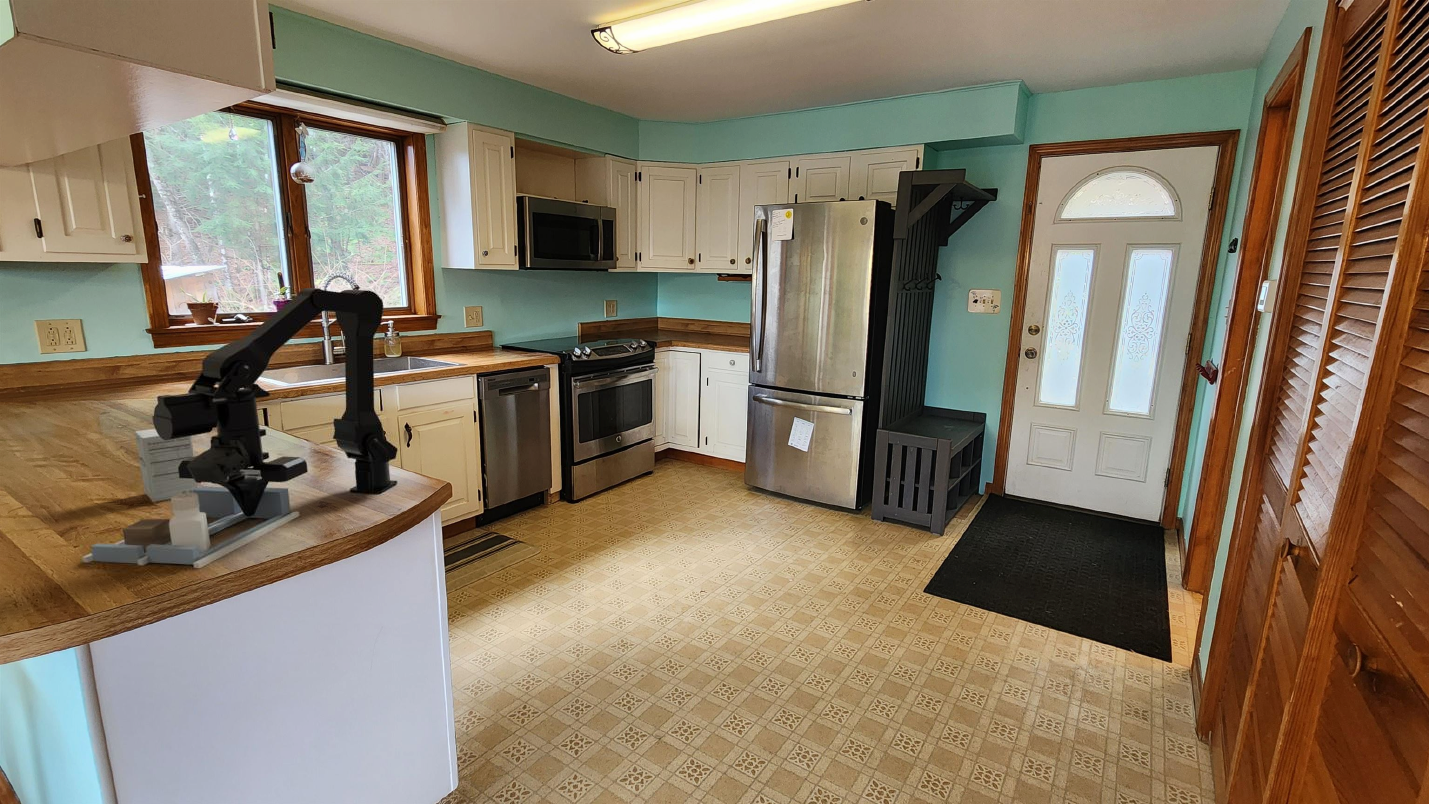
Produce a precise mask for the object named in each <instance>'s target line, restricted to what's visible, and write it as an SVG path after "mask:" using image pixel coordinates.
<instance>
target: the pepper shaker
mask: <svg viewBox="0 0 1429 804" xmlns="http://www.w3.org/2000/svg"><path fill="white" fill-rule="evenodd" d="M170 503H171V509H172V511H173V512H172V513H173V516H172V517H171V518H170V522H169V528H170V535H171V541H172V545H176V546H196V547H198V550H199V554H201V553H203V552H205V551H207V550H209V549H211V548H210V547H211V540H210V535H209V532H208V525H209V524H208V520H207V518H208V517H206V513H204V512H200V511H199V506H200V505H199V500H198V494H197V493H185V494H179V495H176V496H174V497H172V498H171V499H170Z"/></svg>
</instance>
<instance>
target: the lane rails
mask: <svg viewBox="0 0 1429 804" xmlns="http://www.w3.org/2000/svg"><path fill="white" fill-rule="evenodd" d="M242 513H243V512H241V513H239V514H237V515H235V516H232V517H230V518H228V519H226V520H224V521H222V522H219V523H217V524H215V525H213V526H211V527H208V529H210V528H212V527H214V526H216V525H218V524H220V523H223V522H225V521H227V520H229V519H231V518H233V517H236V516H238V515H240V514H242ZM298 517H300V512H299V511H293V512H291V514H289V515H287V516H285V517H283V518H281V519H279V520H277V521H275V522H273V523H271V524H269V525H267V526H265V527H263V528H261V529H259V530H257V531H255V532H253V533H251V534H249V535H247V536H246V537H244V538H242V539H240V540H238V541H236V542H234V543H232V544H230V545H228V546H226V547H224V548H222V549H220V550H218V551H216V552H214V553H212V554H210V555H208V556H206V557H204V558H202V559H200V560H198V561H196V562H194V565H193V568H194V569H200V568H203V567H205V566H206V565H209V564H210V563H212V562H214V561H215V560H218V559H220V558H222V557H224V556H226V555H228V554H229V553H231V552H233V551H236V550H237V549H239V548H241V547H243V546H245V545H247V544H249V543H251V542H252V541H254V540H256V539H258V538H260V537H262V536H265V535H266V534H268V533H270V532H271V531H273V530H275V529H277V528H279V527H281V526H283V525H285V524H287V523H289V522H291V521H292V520H294V519H296V518H298ZM122 543H125V541H124V539H122V540H121V541H120V540H119V541H116V542H115V543H114V544H122ZM171 545H172V544H171ZM81 560H82V563H90V562H92V561H93V556H92V552H91V553H88V554H86V555H84V556H82V557H81ZM137 561H138V563H137V565H138V566H145V565H147V564H149V563H150V562H148V558H147V556H145V557H143V558H141V559H139V560H137Z"/></svg>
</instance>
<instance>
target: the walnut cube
mask: <svg viewBox="0 0 1429 804" xmlns="http://www.w3.org/2000/svg"><path fill="white" fill-rule="evenodd" d="M170 520H171V518H153V519H152V518H151V519H147V518H146V519H141V520H139V521H137V522H134V523H133V524H130V525H128V526H126V527H124V528H122V533H123V540H124V541H125V545H140V546H143V549H144V553H147V552H146V547H147V546H149V545H152V544H156V545H164V544H167V543H169V542H171V535H170V528H169V522H170Z"/></svg>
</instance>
